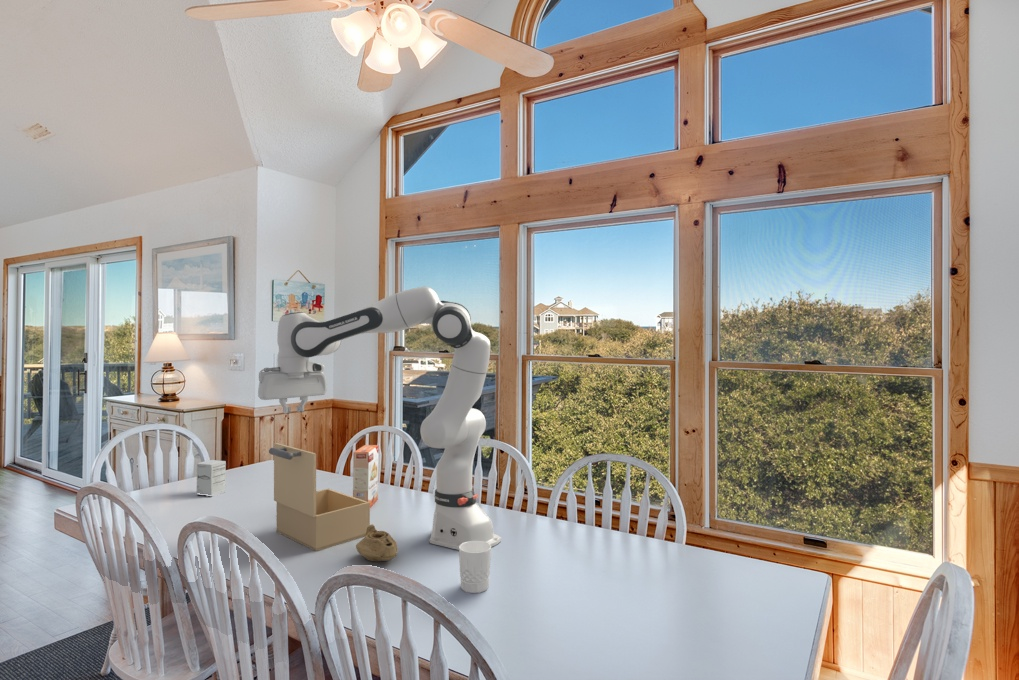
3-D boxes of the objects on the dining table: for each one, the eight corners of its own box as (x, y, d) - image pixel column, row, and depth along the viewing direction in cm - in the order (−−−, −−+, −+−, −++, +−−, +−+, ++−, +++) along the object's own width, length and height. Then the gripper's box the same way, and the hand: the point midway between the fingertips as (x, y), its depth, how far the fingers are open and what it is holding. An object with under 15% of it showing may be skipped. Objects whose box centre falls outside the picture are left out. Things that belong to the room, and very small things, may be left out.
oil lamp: (380, 572, 144) (380, 542, 144) (347, 557, 154) (347, 529, 154) (413, 559, 153) (413, 530, 153) (379, 546, 162) (379, 519, 162)
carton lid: (316, 453, 158) (298, 456, 154) (316, 516, 158) (298, 521, 154) (276, 442, 174) (259, 445, 170) (276, 500, 174) (259, 503, 170)
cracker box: (369, 511, 195) (369, 451, 195) (352, 511, 195) (352, 451, 195) (379, 499, 209) (379, 444, 209) (363, 499, 209) (363, 444, 209)
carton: (369, 534, 172) (369, 502, 172) (316, 551, 158) (316, 516, 158) (328, 518, 188) (328, 488, 188) (276, 531, 174) (276, 500, 174)
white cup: (474, 577, 141) (474, 538, 141) (497, 586, 136) (497, 545, 136) (452, 588, 135) (452, 547, 135) (475, 597, 130) (475, 555, 130)
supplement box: (195, 495, 214) (195, 463, 214) (211, 490, 221) (211, 459, 221) (211, 497, 211) (211, 464, 211) (226, 492, 219) (226, 460, 218)
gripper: (264, 368, 156) (264, 417, 156) (329, 365, 172) (329, 410, 172) (253, 367, 161) (254, 415, 160) (318, 365, 176) (318, 408, 176)
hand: (293, 412), depth 166 cm, fingers open, 3 cm apart
